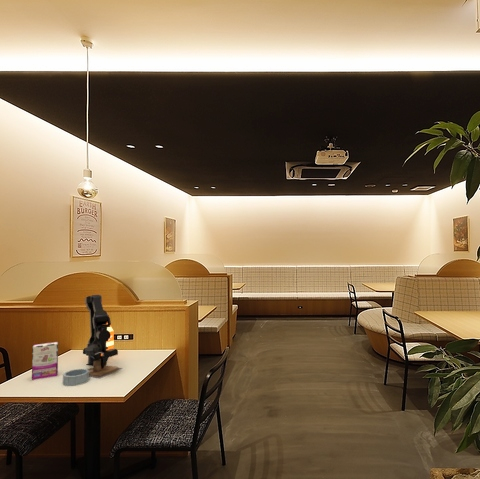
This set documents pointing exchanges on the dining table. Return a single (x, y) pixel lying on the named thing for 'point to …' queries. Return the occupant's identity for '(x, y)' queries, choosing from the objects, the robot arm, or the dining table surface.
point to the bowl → (75, 377)
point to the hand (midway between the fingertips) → (100, 368)
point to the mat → (106, 374)
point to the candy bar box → (44, 360)
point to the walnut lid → (100, 369)
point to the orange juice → (111, 341)
